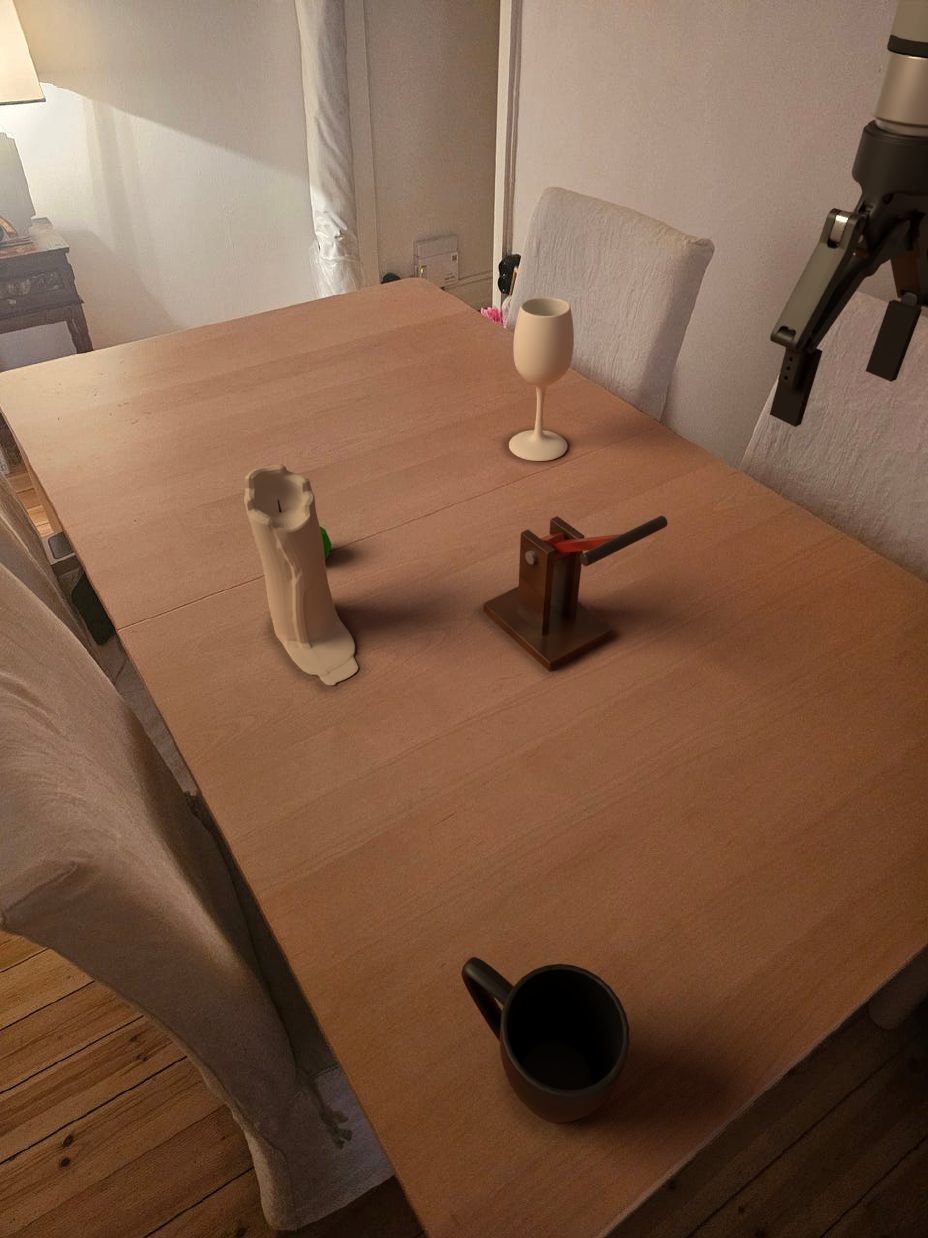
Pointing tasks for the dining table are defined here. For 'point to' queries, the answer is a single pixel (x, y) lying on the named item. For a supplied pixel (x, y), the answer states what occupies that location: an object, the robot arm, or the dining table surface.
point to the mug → (554, 1035)
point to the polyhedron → (325, 542)
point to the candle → (297, 573)
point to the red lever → (601, 542)
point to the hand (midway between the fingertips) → (834, 396)
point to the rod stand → (548, 603)
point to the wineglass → (542, 367)
